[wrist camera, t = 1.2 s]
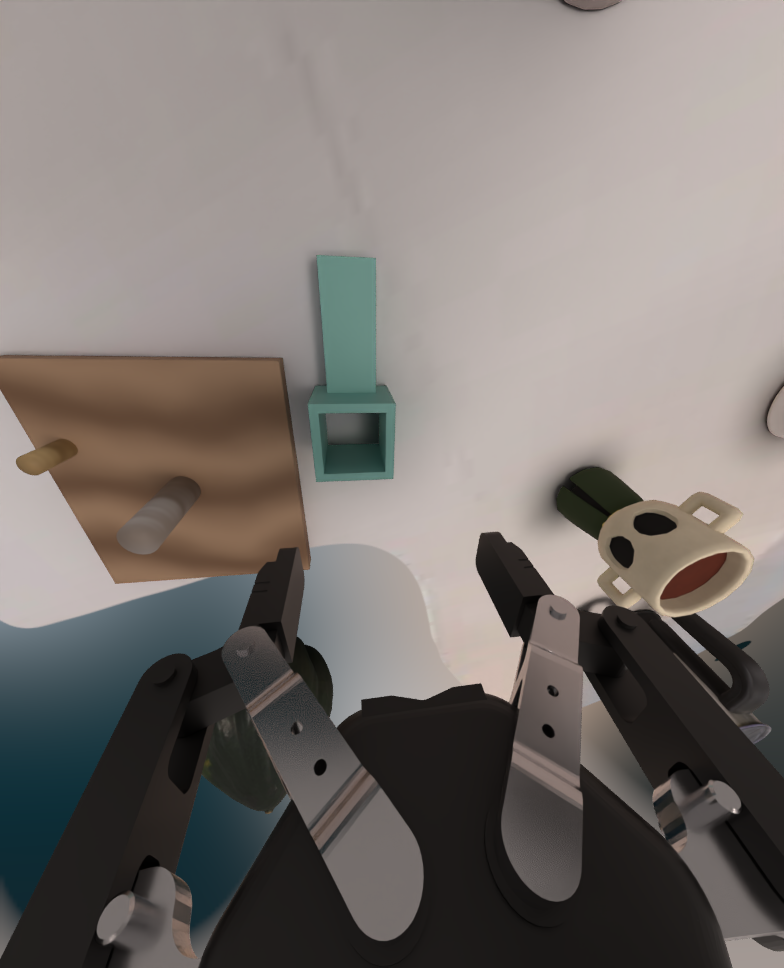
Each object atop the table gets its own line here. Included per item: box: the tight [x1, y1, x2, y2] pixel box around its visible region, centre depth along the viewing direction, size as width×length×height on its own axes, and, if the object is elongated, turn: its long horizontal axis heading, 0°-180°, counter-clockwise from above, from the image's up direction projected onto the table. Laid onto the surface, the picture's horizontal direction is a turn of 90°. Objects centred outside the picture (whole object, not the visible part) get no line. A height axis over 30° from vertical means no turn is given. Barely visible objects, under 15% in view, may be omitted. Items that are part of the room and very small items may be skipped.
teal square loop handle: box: [308, 255, 396, 482], centre depth 21 cm, size 14×6×6 cm, turn 178°
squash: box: [202, 637, 333, 814], centre depth 35 cm, size 14×15×15 cm
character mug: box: [556, 467, 754, 617], centre depth 27 cm, size 11×7×13 cm, turn 149°
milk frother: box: [635, 611, 771, 744], centre depth 40 cm, size 14×16×15 cm
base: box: [0, 355, 311, 584], centre depth 23 cm, size 20×18×8 cm
